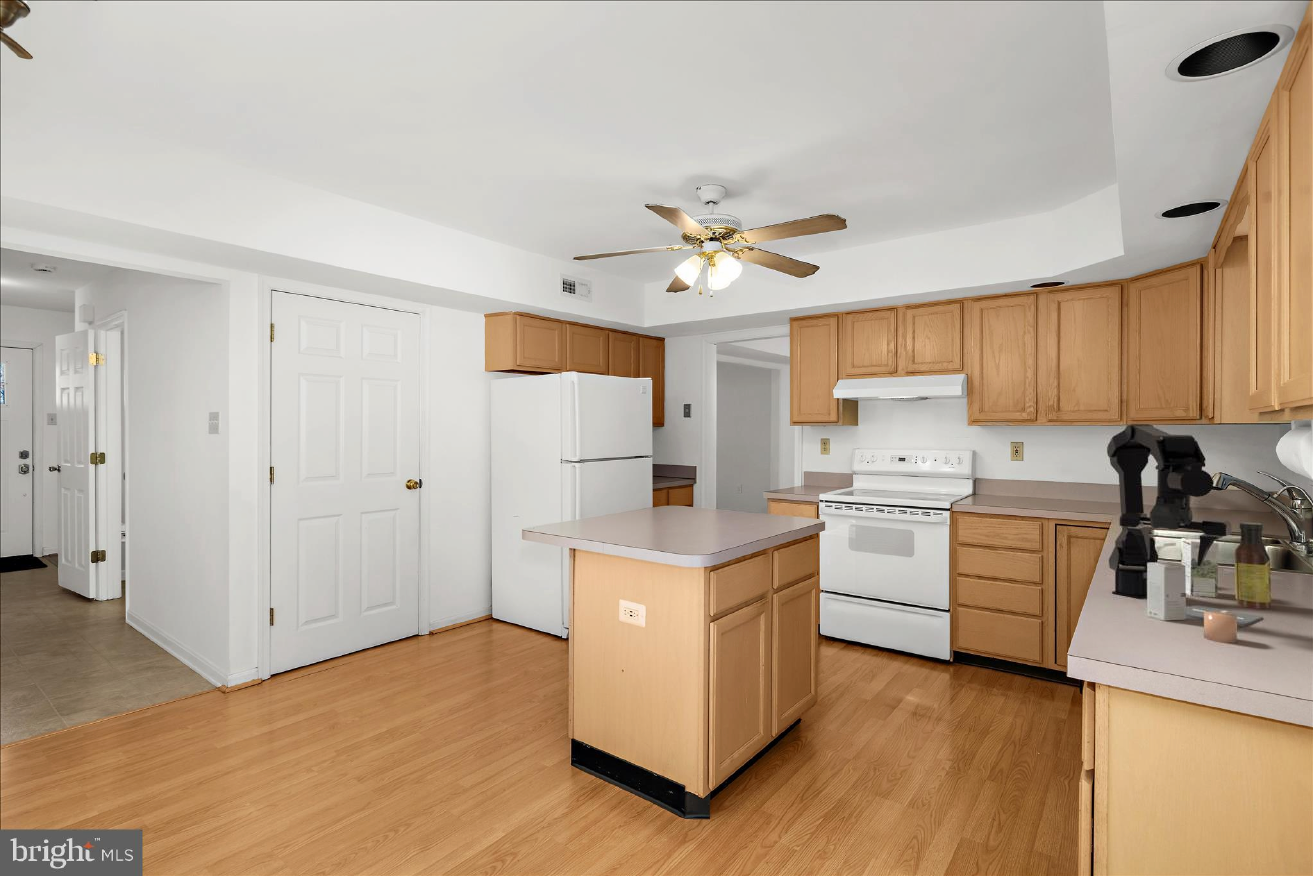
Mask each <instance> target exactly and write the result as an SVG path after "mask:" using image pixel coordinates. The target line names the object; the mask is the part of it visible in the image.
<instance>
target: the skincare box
mask: <svg viewBox="0 0 1313 876" xmlns="http://www.w3.org/2000/svg"><path fill="white" fill-rule="evenodd" d="M1185 571H1186V570H1185V565H1182V564H1181V563H1175V562H1170V561H1157V562H1150V563H1147V597H1146V600H1147V603H1146V604H1147V605H1146V608H1147V613H1146V614H1147V615H1146V616H1148V617H1150V618H1152V619H1157V620H1159V621H1167V622H1168V621H1180V620H1181V621H1182V620H1183V621H1184V620H1186V619H1187V617H1186V608H1187V594H1186V572H1185Z"/></svg>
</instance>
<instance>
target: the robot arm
mask: <svg viewBox="0 0 1313 876" xmlns="http://www.w3.org/2000/svg"><path fill="white" fill-rule="evenodd" d="M1106 447H1107V448H1106V453H1107V456H1108V458H1109V463H1110V465H1111V467H1112V468H1113V470H1115V472H1116V473H1117V474H1118V483H1119V484H1118V486H1119V498H1120V499H1119V501H1120V502H1119V503H1120V516H1119V526H1120V527H1121V532H1120V533H1119V535H1118V536H1117V538H1116V539H1115V541H1114V543H1115V544H1114V547H1113V550H1112V552H1111V554H1110V556H1109V558H1108V568H1109V569H1111V570H1113V571H1114V574H1115V575H1114V577H1115V578H1114V579H1115V580H1114V590H1112V591H1111V594H1112V595H1118V596H1124V597H1130V598H1134V599H1139V600H1140V599H1144V598H1145V599H1146V598H1147V563H1150V562H1159V561H1158V560H1159V553H1158V554H1157V551H1156V549H1155V544H1156V540H1155V538H1153V537H1150V527H1149V526H1151V528H1154V529H1158V528H1161V529H1168V530H1173V531H1174V530H1178V529H1183V530H1184V529H1185V530H1195V531H1201V532H1202V533H1203V534H1201V535H1199V539H1200V546H1199V552H1198V559H1197V561H1198V566H1201V565H1202V563H1203V561H1204V559H1205V557H1206V555H1207V552H1208V550H1209V548H1210V547H1211V545H1212V544H1213V542H1214V541H1216V540H1219V539H1222V538H1224V537H1227V536H1229V535H1232V524H1231V522H1230V521H1229V520H1226V519H1216V518H1215V519H1213V518H1206V519H1204V520H1202V521H1197V520H1196V521H1195V520H1193V511H1192V508H1191V501H1192V498H1191V497H1194V498H1200V497H1204V496H1206V495H1208V494H1209V493H1210V492H1211V491H1212V490H1213V488H1214V484H1215V483H1214V482H1215V481H1214V480H1213V476H1211V474H1210V473H1209V472H1207V471H1206V470H1203V468H1205V467H1206V457H1205V455H1204V453H1203V451H1202V449H1201V448H1200V447H1201V446H1199V442H1198V441H1197V440H1196V439H1195V437H1194V436H1193V435H1191V434H1171V433H1169V432H1166V431H1163V430H1161V429H1158V428H1157V427H1154V425H1153V424H1150V423H1131V424H1128V425H1126V427H1125V428H1124V430H1122V431H1120V432H1118V433H1116V434H1115V435H1113V436H1112V437H1111V439H1110V441H1109V443H1108V444H1107V446H1106ZM1150 455H1151V456H1152V457H1153V459H1154V460H1155V462H1156V463H1157V464H1156V466H1155V470H1157V484H1156V485H1157V487H1156V488H1157V490H1156V495H1157V496H1156V500H1155V503H1154V504H1155V505H1154V506H1153V507H1152V508H1151V510H1150V512H1149V516H1148V515H1147V513H1145V510H1144V509H1145V508H1144V496H1143V495H1144V494H1143V481H1142V473H1143V471H1144V470H1145V468H1146V467H1147V466H1148V463H1149V457H1150Z"/></svg>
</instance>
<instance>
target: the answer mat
mask: <svg viewBox="0 0 1313 876" xmlns="http://www.w3.org/2000/svg"><path fill="white" fill-rule="evenodd" d="M1205 611H1218V612H1224V613H1229V614H1233V615H1236V616H1237V628H1243V627H1245V626H1249V625H1251V624H1254V623H1256V622H1258V621H1260V620H1262V619H1263V618H1264V617H1263V616H1260V615H1256V614H1249V613H1244V612H1239V611H1232V610H1226V609H1220V608H1216V607H1210V606H1205V605H1199V604H1195V605H1191V606H1189V607H1186V618H1187V617H1188V618H1193V619H1198V620H1201V621H1204V612H1205Z"/></svg>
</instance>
